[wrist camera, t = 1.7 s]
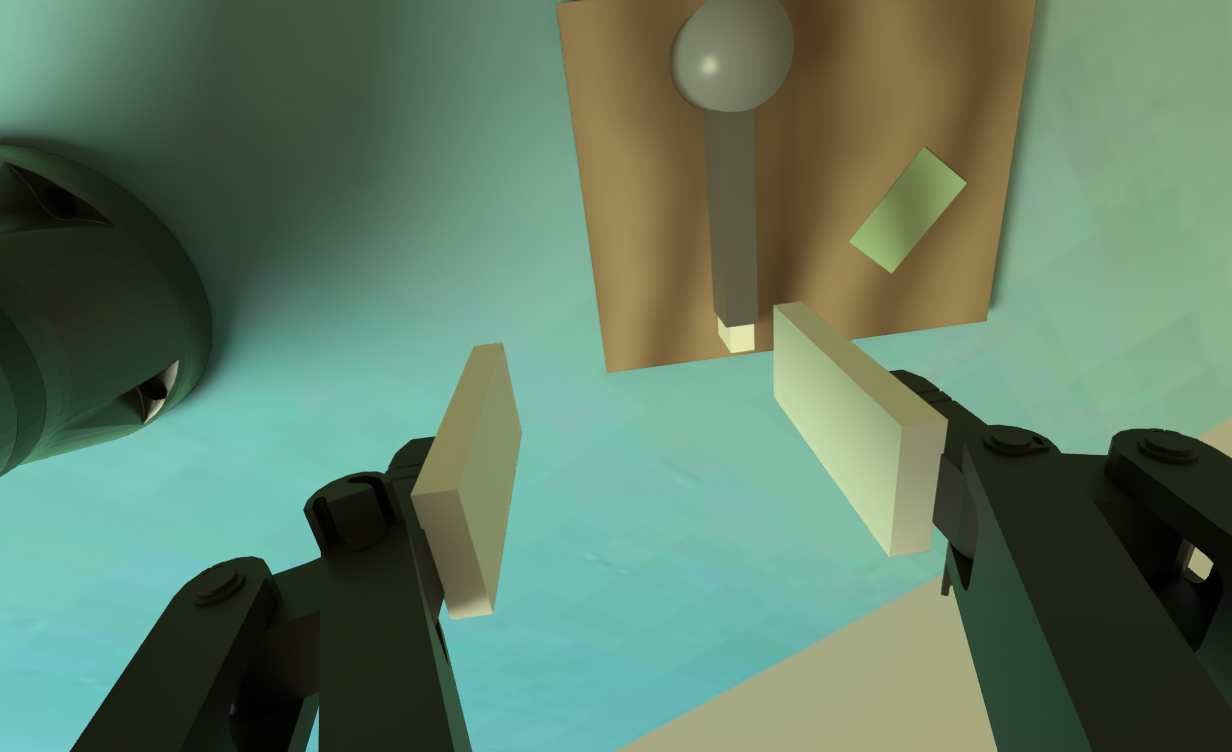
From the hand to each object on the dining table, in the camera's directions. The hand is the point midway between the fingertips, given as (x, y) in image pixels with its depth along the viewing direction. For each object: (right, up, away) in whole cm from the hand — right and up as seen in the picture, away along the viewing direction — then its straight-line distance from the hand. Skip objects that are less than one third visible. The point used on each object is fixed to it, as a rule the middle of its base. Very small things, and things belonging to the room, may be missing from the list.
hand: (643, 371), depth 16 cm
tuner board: (+9, +10, +15) cm, 20 cm away
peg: (+5, +9, +13) cm, 17 cm away
